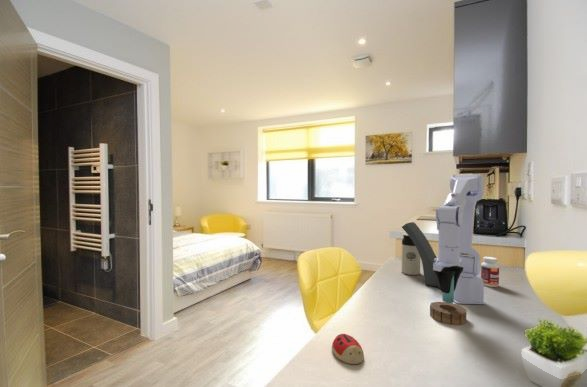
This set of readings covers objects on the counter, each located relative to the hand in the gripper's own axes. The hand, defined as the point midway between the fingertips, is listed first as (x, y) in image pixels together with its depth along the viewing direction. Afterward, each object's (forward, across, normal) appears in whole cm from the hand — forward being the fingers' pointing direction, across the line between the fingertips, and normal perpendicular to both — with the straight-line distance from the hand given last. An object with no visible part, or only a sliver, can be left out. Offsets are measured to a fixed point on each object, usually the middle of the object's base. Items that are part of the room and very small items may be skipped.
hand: (448, 291), depth 91 cm
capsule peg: (+3, 0, 0) cm, 3 cm away
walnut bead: (+8, 0, 0) cm, 8 cm away
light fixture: (+8, -28, -22) cm, 37 cm away
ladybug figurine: (+8, +39, -5) cm, 40 cm away
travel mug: (+8, -36, -34) cm, 50 cm away
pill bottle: (+8, -46, -5) cm, 47 cm away
